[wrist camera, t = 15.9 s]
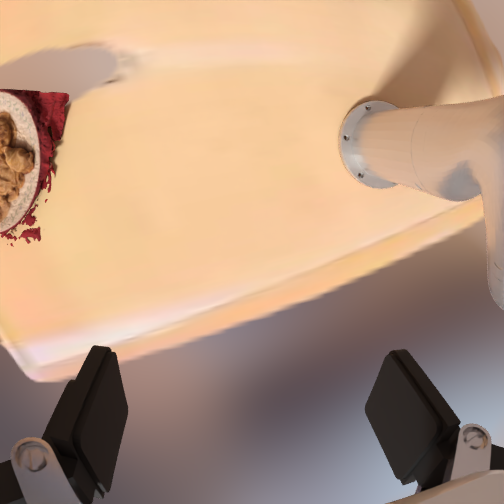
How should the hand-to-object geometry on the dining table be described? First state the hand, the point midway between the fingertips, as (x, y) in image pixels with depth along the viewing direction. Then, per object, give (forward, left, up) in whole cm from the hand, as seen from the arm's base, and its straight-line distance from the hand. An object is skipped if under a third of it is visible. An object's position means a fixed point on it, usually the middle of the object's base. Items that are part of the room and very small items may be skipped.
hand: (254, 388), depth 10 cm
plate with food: (+38, -5, -34) cm, 52 cm away
